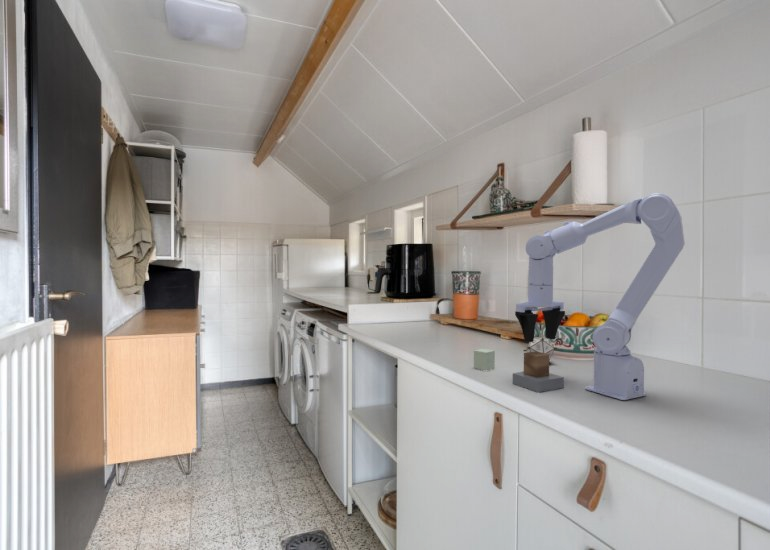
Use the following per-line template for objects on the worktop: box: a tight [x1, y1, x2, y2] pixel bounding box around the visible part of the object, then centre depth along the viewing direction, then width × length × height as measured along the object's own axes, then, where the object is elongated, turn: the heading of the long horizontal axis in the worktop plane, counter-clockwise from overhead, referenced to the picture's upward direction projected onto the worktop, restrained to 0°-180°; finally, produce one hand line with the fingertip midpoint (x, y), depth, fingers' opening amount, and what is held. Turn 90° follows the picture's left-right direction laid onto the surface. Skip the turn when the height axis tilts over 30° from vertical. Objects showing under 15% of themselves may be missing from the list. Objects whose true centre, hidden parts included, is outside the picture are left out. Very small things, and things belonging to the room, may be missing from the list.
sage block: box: [473, 348, 496, 372], centre depth 117 cm, size 4×4×5 cm
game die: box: [523, 336, 558, 365], centre depth 124 cm, size 9×8×10 cm
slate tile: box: [512, 371, 565, 393], centre depth 100 cm, size 8×8×2 cm
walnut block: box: [523, 351, 550, 378], centre depth 101 cm, size 4×4×5 cm
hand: (539, 340), depth 105 cm, fingers open, 7 cm apart
